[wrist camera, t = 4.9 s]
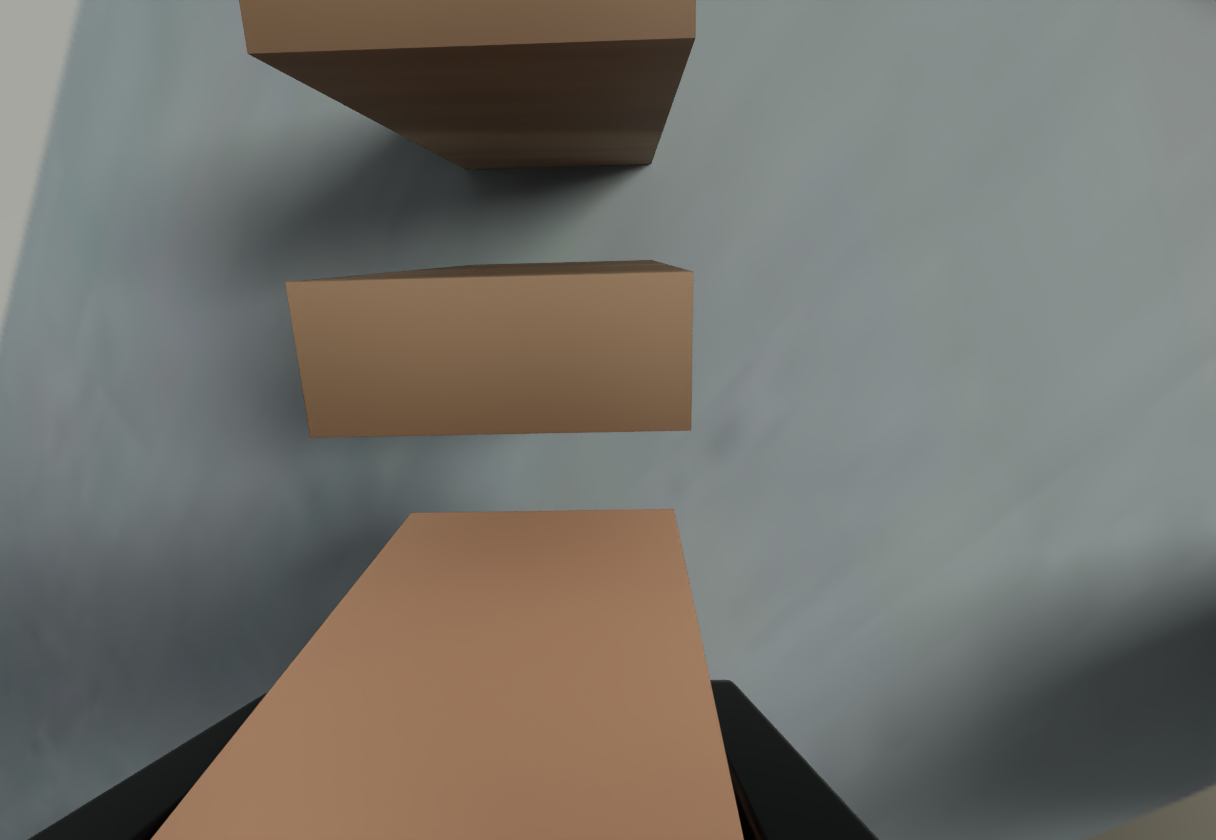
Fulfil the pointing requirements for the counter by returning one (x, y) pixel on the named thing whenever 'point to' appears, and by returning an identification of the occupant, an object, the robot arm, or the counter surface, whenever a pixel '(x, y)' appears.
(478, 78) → the domino
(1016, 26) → the counter surface
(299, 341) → the domino
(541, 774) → the domino
